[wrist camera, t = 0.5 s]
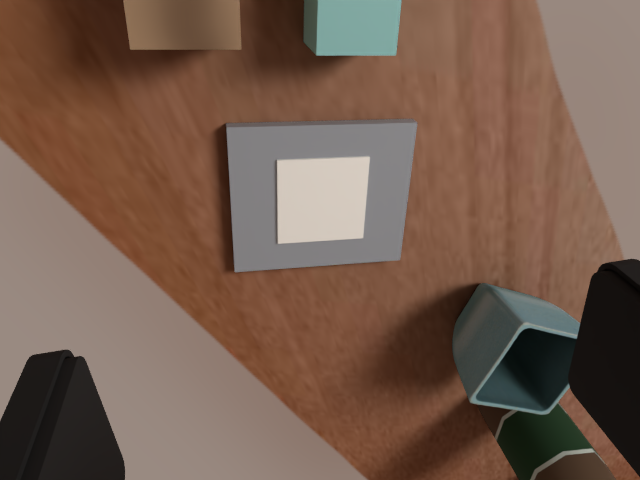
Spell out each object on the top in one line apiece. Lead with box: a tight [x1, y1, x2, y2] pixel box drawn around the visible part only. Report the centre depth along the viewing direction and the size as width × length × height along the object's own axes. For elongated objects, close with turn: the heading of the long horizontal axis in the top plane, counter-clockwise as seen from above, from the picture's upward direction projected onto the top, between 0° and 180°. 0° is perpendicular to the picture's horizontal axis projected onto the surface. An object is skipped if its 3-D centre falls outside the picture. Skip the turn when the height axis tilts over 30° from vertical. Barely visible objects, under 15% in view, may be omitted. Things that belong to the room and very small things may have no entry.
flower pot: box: [452, 283, 580, 415], centre depth 47 cm, size 9×9×9 cm
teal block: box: [303, 0, 401, 56], centre depth 33 cm, size 5×5×5 cm
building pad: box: [226, 119, 417, 272], centre depth 41 cm, size 14×12×1 cm
